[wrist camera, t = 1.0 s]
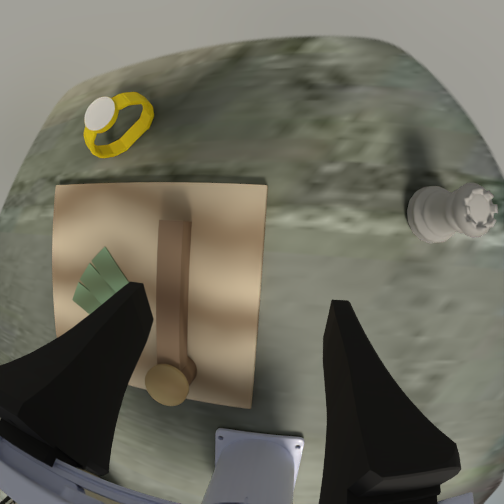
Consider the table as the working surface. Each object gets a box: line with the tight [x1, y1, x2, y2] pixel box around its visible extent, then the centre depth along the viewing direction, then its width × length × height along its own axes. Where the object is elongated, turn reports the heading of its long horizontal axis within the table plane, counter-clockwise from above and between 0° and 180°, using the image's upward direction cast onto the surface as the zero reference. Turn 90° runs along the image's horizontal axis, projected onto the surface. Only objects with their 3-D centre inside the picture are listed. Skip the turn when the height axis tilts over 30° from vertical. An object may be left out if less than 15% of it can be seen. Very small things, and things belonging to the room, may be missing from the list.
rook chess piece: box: [407, 183, 498, 243], centre depth 18 cm, size 4×4×8 cm
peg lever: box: [145, 220, 197, 406], centre depth 22 cm, size 14×3×4 cm, turn 176°
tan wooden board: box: [52, 182, 268, 409], centre depth 25 cm, size 18×20×1 cm
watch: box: [84, 92, 154, 158], centre depth 22 cm, size 6×3×6 cm, turn 131°
